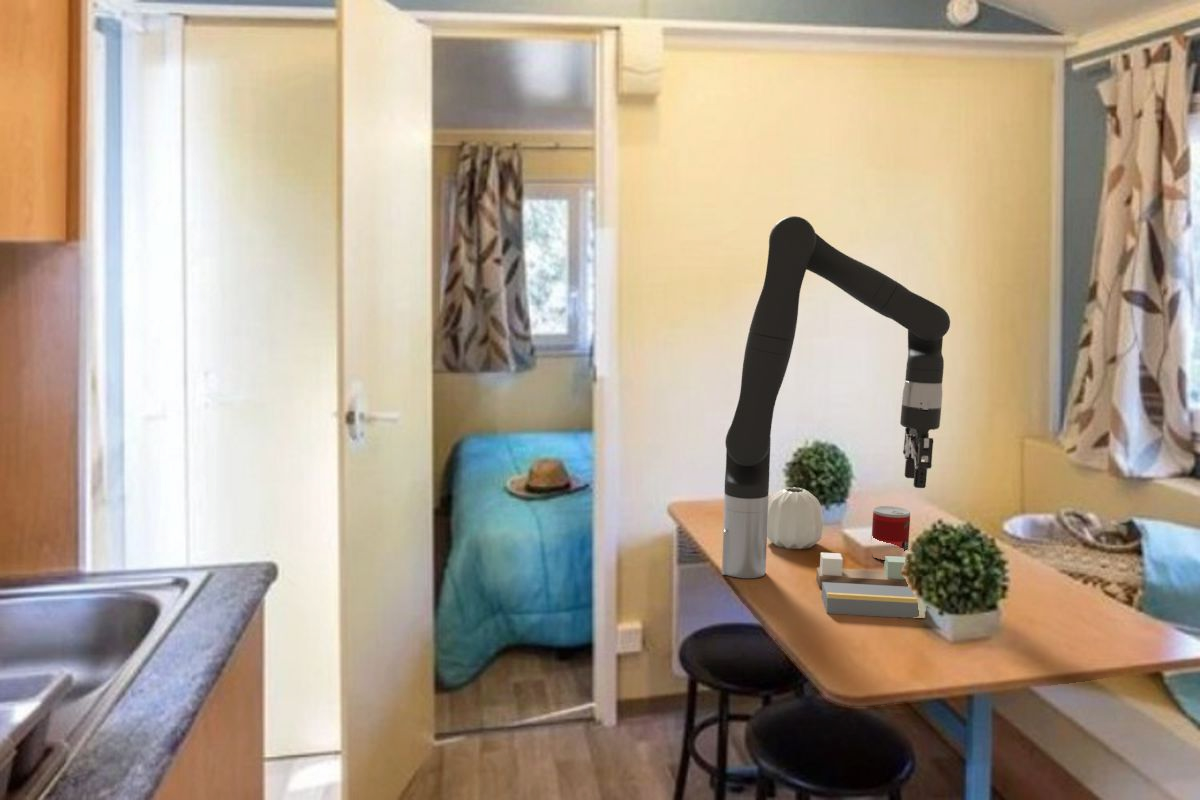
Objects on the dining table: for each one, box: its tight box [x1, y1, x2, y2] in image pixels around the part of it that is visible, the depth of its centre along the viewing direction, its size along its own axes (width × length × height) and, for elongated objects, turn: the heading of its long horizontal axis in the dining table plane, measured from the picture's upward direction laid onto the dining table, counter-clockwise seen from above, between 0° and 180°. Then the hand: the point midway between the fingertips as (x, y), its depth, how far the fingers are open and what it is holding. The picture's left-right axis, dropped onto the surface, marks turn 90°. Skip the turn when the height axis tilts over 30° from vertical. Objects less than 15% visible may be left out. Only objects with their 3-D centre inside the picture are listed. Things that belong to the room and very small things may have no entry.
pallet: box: [815, 566, 908, 589], centre depth 183 cm, size 18×6×3 cm, turn 82°
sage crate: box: [883, 556, 906, 579], centre depth 182 cm, size 4×4×4 cm
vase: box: [767, 486, 824, 550], centre depth 211 cm, size 14×14×13 cm
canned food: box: [871, 505, 911, 551], centre depth 202 cm, size 8×8×11 cm
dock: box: [821, 582, 919, 619], centre depth 171 cm, size 18×9×4 cm, turn 82°
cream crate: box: [819, 552, 844, 576], centre depth 184 cm, size 4×4×4 cm
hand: (914, 482), depth 182 cm, fingers open, 8 cm apart
